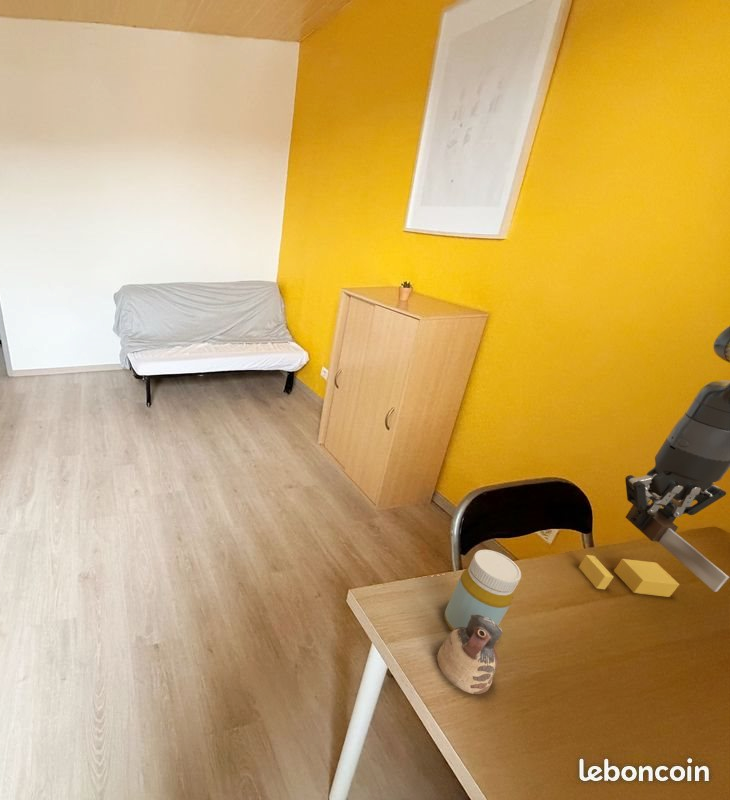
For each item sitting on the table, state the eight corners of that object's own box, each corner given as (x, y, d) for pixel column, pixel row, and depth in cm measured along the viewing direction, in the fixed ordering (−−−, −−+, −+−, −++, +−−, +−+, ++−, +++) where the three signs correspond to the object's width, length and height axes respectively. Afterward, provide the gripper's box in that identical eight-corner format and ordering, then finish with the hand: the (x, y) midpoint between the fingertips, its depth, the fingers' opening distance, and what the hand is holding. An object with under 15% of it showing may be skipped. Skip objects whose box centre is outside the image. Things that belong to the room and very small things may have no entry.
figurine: (497, 679, 63) (528, 629, 57) (473, 706, 59) (504, 656, 54) (450, 640, 68) (474, 591, 63) (426, 663, 65) (449, 614, 59)
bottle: (433, 616, 72) (461, 555, 65) (461, 602, 75) (490, 542, 68) (471, 653, 66) (505, 590, 59) (499, 637, 69) (535, 575, 62)
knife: (624, 517, 76) (634, 502, 75) (639, 518, 76) (649, 503, 75) (706, 590, 62) (720, 574, 61) (724, 592, 62) (739, 576, 60)
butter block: (645, 576, 81) (656, 562, 79) (667, 599, 76) (679, 584, 74) (611, 573, 81) (621, 558, 79) (632, 594, 77) (643, 580, 75)
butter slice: (585, 570, 82) (594, 555, 80) (603, 591, 77) (614, 577, 76) (576, 569, 82) (586, 554, 80) (595, 590, 78) (605, 576, 76)
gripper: (728, 437, 68) (672, 517, 76) (633, 429, 70) (588, 508, 78) (778, 463, 61) (711, 548, 69) (672, 454, 63) (618, 538, 71)
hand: (646, 526), depth 73 cm, fingers closed on knife, 2 cm apart
